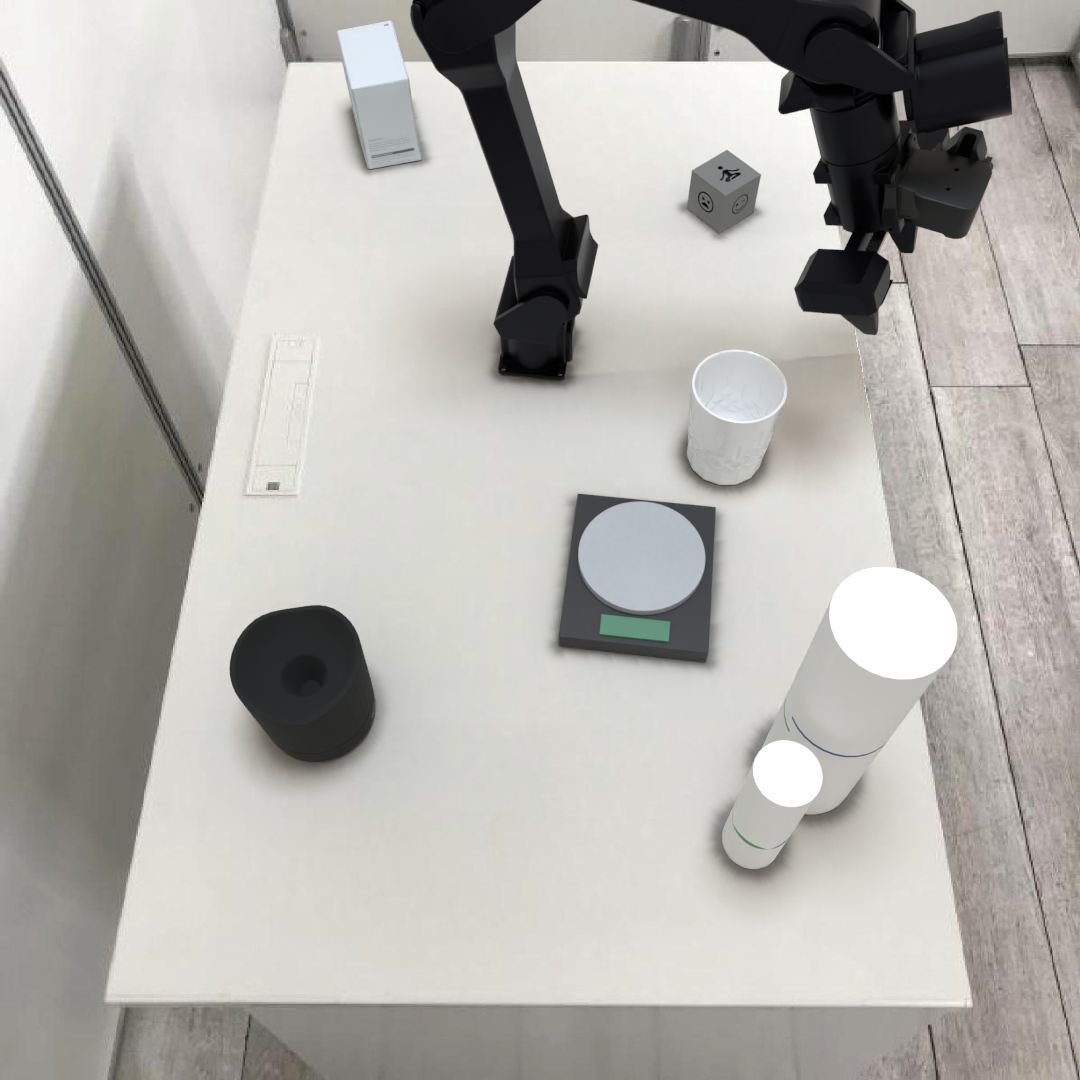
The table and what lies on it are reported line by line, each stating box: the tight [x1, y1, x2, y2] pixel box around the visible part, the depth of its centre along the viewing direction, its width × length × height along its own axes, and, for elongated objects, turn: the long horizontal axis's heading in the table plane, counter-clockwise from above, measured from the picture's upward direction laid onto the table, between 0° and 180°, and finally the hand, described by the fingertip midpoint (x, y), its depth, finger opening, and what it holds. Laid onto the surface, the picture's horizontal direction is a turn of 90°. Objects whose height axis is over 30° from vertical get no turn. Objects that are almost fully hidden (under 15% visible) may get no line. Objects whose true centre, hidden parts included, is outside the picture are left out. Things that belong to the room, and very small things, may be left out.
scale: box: [558, 493, 717, 663], centre depth 89 cm, size 12×14×3 cm
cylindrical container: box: [761, 566, 958, 815], centre depth 71 cm, size 7×7×25 cm
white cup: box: [686, 349, 788, 486], centre depth 93 cm, size 8×8×10 cm
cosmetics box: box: [336, 19, 423, 170], centre depth 116 cm, size 10×6×10 cm, turn 14°
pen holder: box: [228, 604, 376, 763], centre depth 80 cm, size 9×9×10 cm
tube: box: [721, 740, 823, 870], centre depth 73 cm, size 4×4×15 cm
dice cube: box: [686, 149, 762, 235], centre depth 112 cm, size 5×5×5 cm
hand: (889, 291), depth 89 cm, fingers open, 9 cm apart
